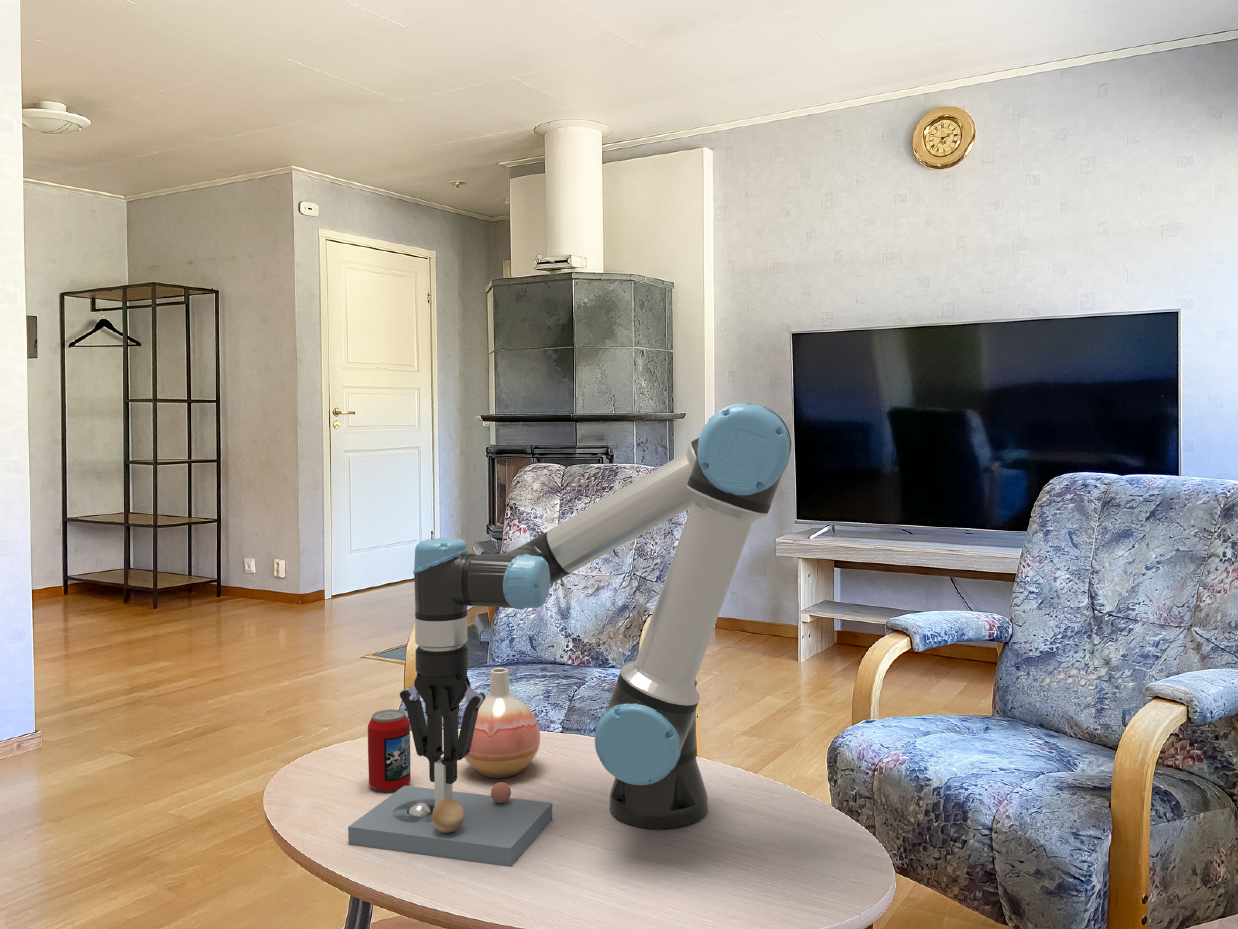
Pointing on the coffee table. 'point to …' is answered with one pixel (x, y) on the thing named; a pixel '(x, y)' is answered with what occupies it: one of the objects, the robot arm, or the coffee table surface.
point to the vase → (503, 732)
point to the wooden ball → (448, 815)
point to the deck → (480, 838)
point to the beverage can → (389, 750)
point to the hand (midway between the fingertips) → (443, 803)
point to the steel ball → (419, 810)
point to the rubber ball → (500, 792)
